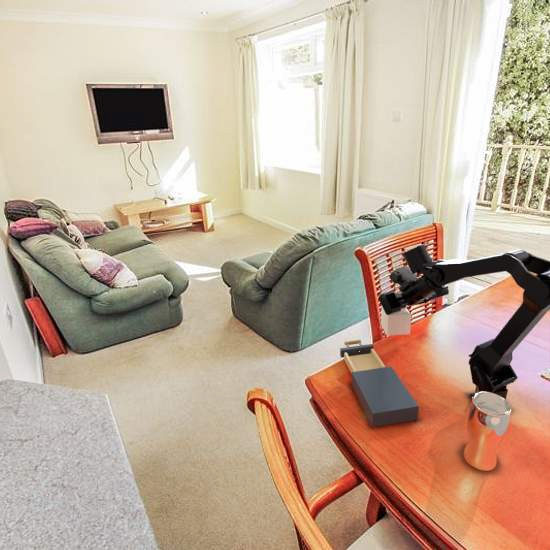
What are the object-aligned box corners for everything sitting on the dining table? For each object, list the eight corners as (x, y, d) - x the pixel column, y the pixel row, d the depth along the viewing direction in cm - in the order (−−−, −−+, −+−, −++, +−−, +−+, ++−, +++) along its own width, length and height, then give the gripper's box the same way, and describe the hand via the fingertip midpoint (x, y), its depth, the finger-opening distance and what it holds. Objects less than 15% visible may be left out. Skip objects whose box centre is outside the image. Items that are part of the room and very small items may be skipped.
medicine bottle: (402, 324, 122) (404, 290, 118) (410, 334, 115) (412, 298, 111) (380, 325, 122) (381, 291, 118) (387, 336, 115) (388, 300, 111)
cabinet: (351, 384, 102) (351, 372, 100) (390, 378, 103) (391, 366, 101) (372, 427, 88) (372, 413, 86) (417, 419, 89) (418, 406, 87)
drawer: (336, 348, 116) (336, 341, 115) (367, 343, 117) (367, 336, 116) (355, 387, 99) (356, 379, 98) (391, 381, 100) (392, 373, 99)
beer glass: (453, 451, 80) (463, 397, 74) (478, 440, 82) (490, 386, 76) (480, 478, 74) (493, 421, 68) (506, 465, 76) (521, 409, 70)
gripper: (434, 255, 109) (405, 276, 123) (384, 269, 103) (358, 290, 116) (453, 289, 106) (421, 307, 120) (402, 306, 99) (374, 323, 113)
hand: (393, 306), depth 117 cm, fingers closed on medicine bottle, 6 cm apart
